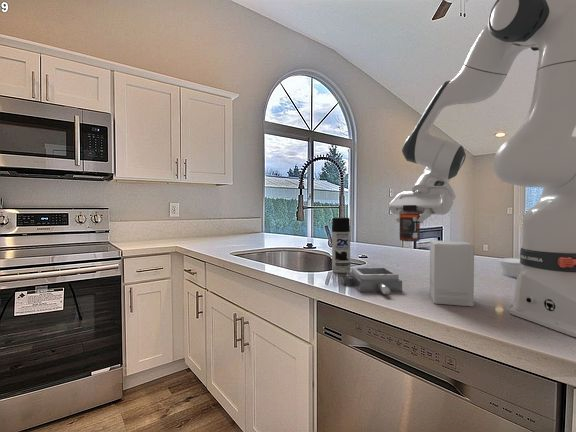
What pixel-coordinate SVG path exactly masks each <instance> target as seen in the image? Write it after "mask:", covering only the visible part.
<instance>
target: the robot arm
mask: <svg viewBox="0 0 576 432" xmlns="http://www.w3.org/2000/svg"><path fill="white" fill-rule="evenodd" d="M491 7H492V8H491V10H490V11H489V15H488V19H487V24H486V26H484V28H483V29H482V30H481V32H480V33H479V35H478V36H477V37H476V39H475V41H474V43H473V44H472V46H471V48H470V50H469V52H468V54H467V57H466V59H465V61H464V63H463V65H462V67H461V69H460V71H459V72H458V73H457V74H456V75H455V76H454V77H453V78H452V79H451V80H446V81H444V82H443V83H442V85H440V87H439V88H438V90H437V91H436V93H435V94H434V96H433V98H432V99H431V101H429V104H428V105H427V107H426V108H425V110H424V112H423V114H422V115H421V117H420V119H419V120H418V122H417V124H416V125H415V127H414V129H413V130H412V132H411V133H410V134H409V135H408V137H406V140H405V141H404V143H403V146H402V149H401V152H402V155H403V156H404V158H405V160H406V161H407V162H411V163H413V164H418V165H421V166H424V167H425V168H424V169H423V172H422V174H421V175H420V176H419V177H418V179H417V180H416V182H415V183H414V185H413V186H412V188H411V191H410V190H409V191H402V192H400V193H397V194H396V196H395V197H393V198H392V200H391V201H390V203H389V204H388V208H389V210H390V212H391V213H392V214H393V215H397V216H396V218H395V221H396V222H397V223H400V213H401V212H402V211H403V205H416V206H417V209H416V210H417V212H419V214H420V216H417V218H416V222H417V223H420V224H423V223H424V221H425V220H427V219H428V218H430V217H431V215H437V216H438V215H443V216H444V215H447V214H448V213H449V212H450V211H451V209H452V207H453V205H454V200H455V199H456V193H455V191H454V189H453V187H452V186H451V183H450V181H451V179H453V178H455V177H456V176H457V175H458V173H459V171H460V169H461V168H462V166H463V164H464V163H465V161H466V158H467V155H466V151H465V149H464V147H463V145H461V144H459V143H456V142H453V141H450V140H448V139H447V140H446V139H443V138H441V137H437V136H435V135H432V134H431V133H430V132H429V131H430V129H431V128H432V126H433V125H434V123H435V122H436V120H437V118H438V116H439V115H440V114H441V112H442V111H443V110H444V109H445V108H448V107H449V106H453V105H454V106H455V105H466V104H467V105H469V104H475V103H481V102H482V101H486V100H488V99H490V98H492V97H493V96H495V94H497V92H498V91H499V89H500V87H501V86H502V85H503V83H504V81H505V79H506V78H507V76H508V74H509V72H510V70H511V68H512V65H513V64H514V61H515V60H516V58H517V57H518V55H519V54H520V53H521V52H523V51H524V50H527V49H531V51H533V52H535V51H538V52H539V53H538V56H539V57H538V62H537V68H536V74H535V81H534V86H533V92H532V98H531V104H530V107H529V110H528V112H527V115H526V117H525V119H524V120H523V123H522V124H521V125H520V128H519V129H518V130H517V131H516V132H515V133H514V134H513V136H511V137H510V138H508V140H506V141H504V142H503V143H501V145H500V146H499V148H498V149H497V151H496V153H495V155H494V158H493V170H494V173H495V175H496V177H497V178H498V180H500V181H502V182H503V183H507V184H510V185H514V186H520V187H524V188H543V189H542V191H541V195H540V197H539V199H538V201H537V202H536V203H535V205H534V206H532V207H530V208H529V209H527V211H526V212H525V213H524V215H523V217H522V247H521V248H520V252H519V259H520V263H521V264H522V268H521V271H520V273H519V275H518V276H517V278H516V282H515V290H514V297H513V305H512V306H511V307H509V311H508V313H509V314H511V315H513V316H516V317H518V318H521V319H525V320H527V321H530V322H531V323H535V324H538V325H540V326H543V327H546V328H548V329H551V330H553V331H557V332H559V333H563V334H565V335H568V336H571V337H573V338H576V136H573V133H574V131H575V128H576V0H496V1H495V2H494V4H493V6H491Z"/></svg>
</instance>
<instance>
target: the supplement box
mask: <svg viewBox="0 0 576 432" xmlns="http://www.w3.org/2000/svg"><path fill="white" fill-rule="evenodd" d="M474 278H475V245H474V244H472V243H470V242H468V241H465V240H436V239H435V240H430V241H429V296H430V298H431V300H432V302H433V304H436V305H437V304H439V305H446V306H447V305H451V306H461V307H462V306H463V307H471V308H472V307H474V303H475V301H474V293H475V292H474V291H475V287H474V286H475V285H474V284H475V283H474V282H475V281H474V280H475V279H474Z"/></svg>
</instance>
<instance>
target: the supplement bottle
mask: <svg viewBox="0 0 576 432" xmlns="http://www.w3.org/2000/svg"><path fill="white" fill-rule="evenodd" d="M416 209H417V206H416V205H403V211H402V212H401V213H400V222H399V240H400V241H401V242H412V243H413V242H419V241H420V237H421V233H420V232H421V227H420V226H421V223H417V222H416V218H417V216H420V215H421V214H419V212H417V210H416Z"/></svg>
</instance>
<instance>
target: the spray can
mask: <svg viewBox="0 0 576 432" xmlns="http://www.w3.org/2000/svg"><path fill="white" fill-rule="evenodd" d="M331 221H332V222H331V254H332V255H331V261H332V262H331V265H332V269H331V270H332V272H333V273H334V274H349V272H350V271H352V267H351V225H350V224H351V223H350V217H332V220H331Z"/></svg>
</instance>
